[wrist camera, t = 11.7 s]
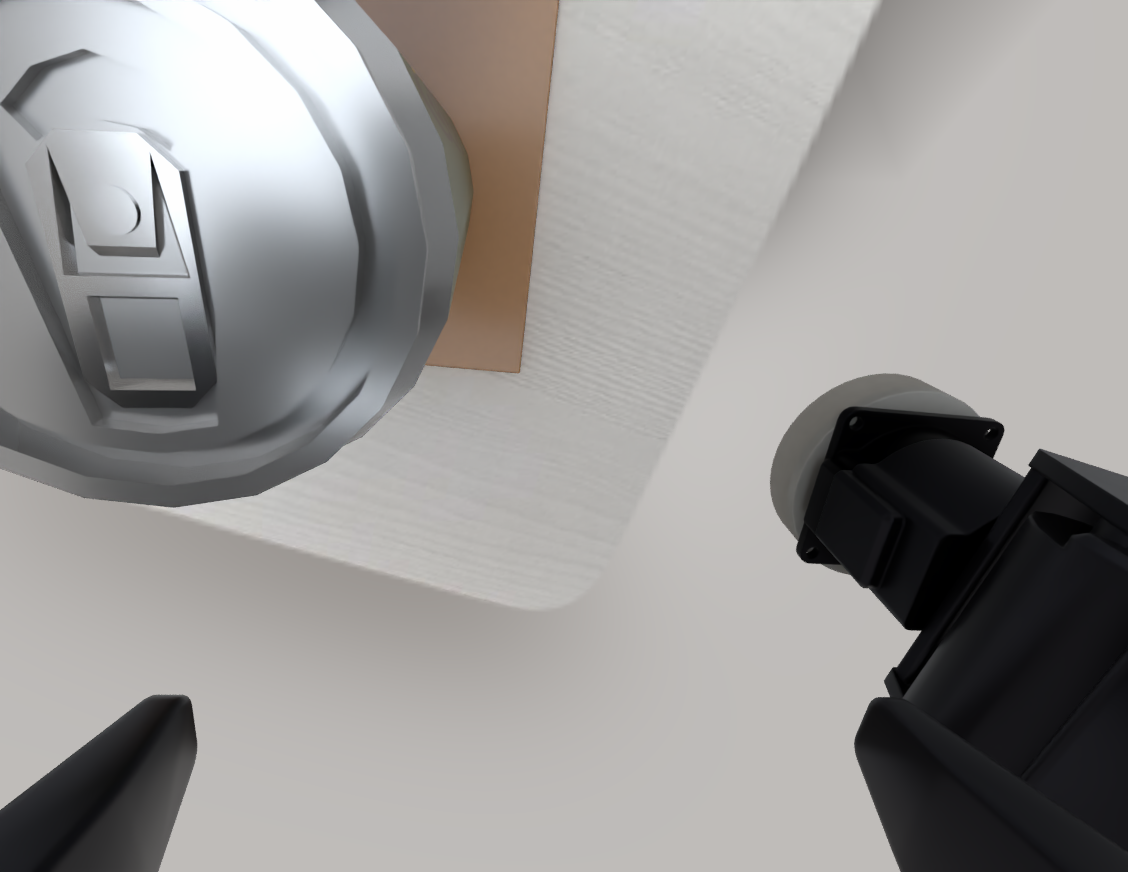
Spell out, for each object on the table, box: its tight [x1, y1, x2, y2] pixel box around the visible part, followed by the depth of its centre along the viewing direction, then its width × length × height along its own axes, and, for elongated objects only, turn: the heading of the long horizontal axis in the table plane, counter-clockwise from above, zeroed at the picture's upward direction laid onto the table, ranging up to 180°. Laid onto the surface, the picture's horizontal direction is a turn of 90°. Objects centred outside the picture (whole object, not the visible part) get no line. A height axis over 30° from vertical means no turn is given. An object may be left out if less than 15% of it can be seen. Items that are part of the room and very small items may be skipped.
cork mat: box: [355, 0, 559, 373], centre depth 16 cm, size 10×10×1 cm
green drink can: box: [0, 0, 474, 508], centre depth 10 cm, size 5×5×12 cm
